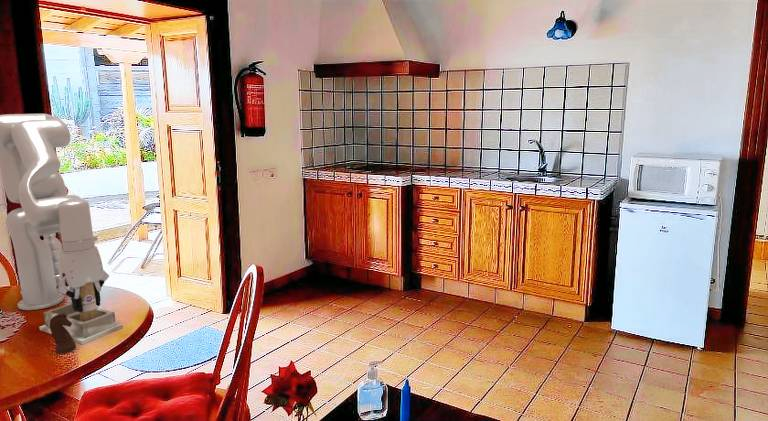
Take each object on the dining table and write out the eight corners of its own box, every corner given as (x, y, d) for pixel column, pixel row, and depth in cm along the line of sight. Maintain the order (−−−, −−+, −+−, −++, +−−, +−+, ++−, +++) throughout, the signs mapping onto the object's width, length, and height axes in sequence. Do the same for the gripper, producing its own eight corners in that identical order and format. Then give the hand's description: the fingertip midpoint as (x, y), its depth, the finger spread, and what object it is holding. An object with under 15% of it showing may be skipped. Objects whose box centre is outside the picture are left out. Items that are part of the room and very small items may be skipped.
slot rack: (39, 330, 154) (37, 313, 153) (80, 315, 164) (78, 299, 163) (82, 344, 144) (79, 327, 143) (122, 327, 154) (120, 311, 153)
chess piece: (75, 351, 140) (70, 315, 138) (52, 355, 138) (47, 319, 136) (76, 344, 144) (71, 309, 142) (54, 348, 142) (49, 312, 140)
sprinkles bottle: (86, 324, 148) (80, 277, 145) (76, 321, 150) (70, 275, 148) (102, 318, 152) (96, 273, 149) (91, 315, 154) (86, 270, 151)
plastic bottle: (58, 289, 186) (50, 233, 182) (41, 288, 188) (32, 232, 184) (72, 283, 193) (64, 229, 188) (56, 282, 194) (48, 228, 190)
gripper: (99, 236, 156) (107, 295, 159) (38, 250, 141) (48, 316, 145) (115, 239, 152) (123, 300, 156) (55, 254, 138) (65, 321, 141)
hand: (87, 307), depth 150 cm, fingers closed on sprinkles bottle, 4 cm apart
